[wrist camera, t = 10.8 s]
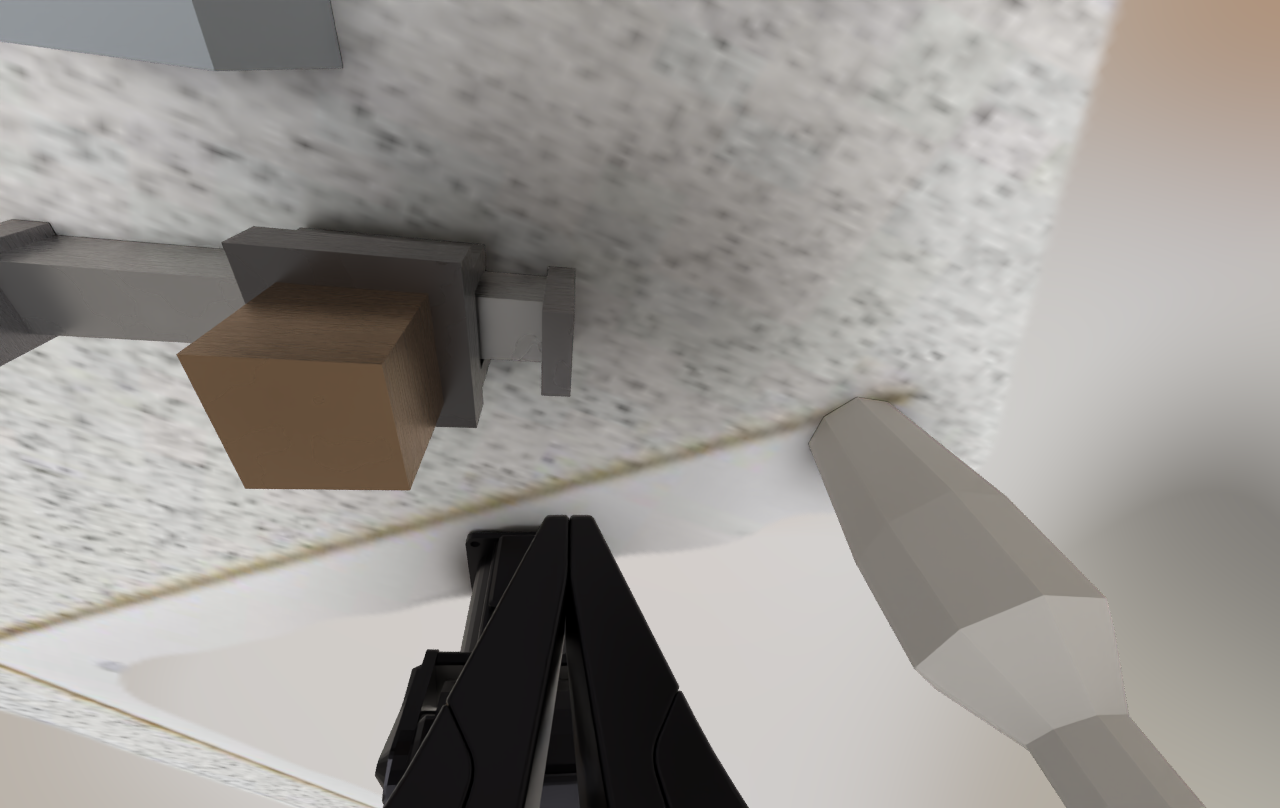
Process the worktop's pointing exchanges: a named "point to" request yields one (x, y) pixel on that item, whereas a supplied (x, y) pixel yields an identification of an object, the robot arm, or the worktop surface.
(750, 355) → the worktop surface
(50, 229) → the rail
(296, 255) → the carriage
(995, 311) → the worktop surface
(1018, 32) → the worktop surface
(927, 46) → the worktop surface
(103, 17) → the grey hollow block
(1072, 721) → the low poly bottle
